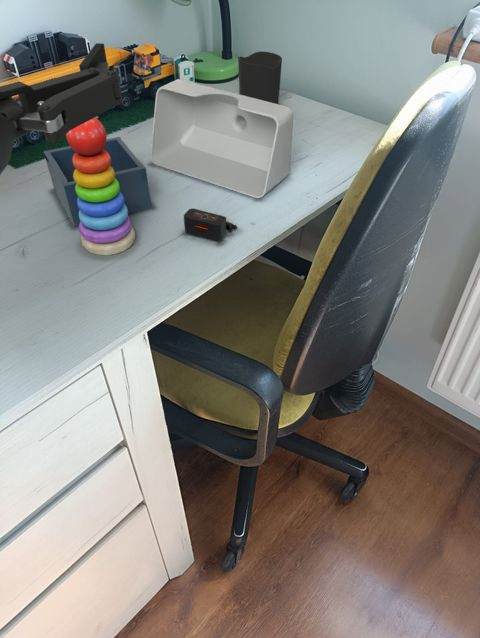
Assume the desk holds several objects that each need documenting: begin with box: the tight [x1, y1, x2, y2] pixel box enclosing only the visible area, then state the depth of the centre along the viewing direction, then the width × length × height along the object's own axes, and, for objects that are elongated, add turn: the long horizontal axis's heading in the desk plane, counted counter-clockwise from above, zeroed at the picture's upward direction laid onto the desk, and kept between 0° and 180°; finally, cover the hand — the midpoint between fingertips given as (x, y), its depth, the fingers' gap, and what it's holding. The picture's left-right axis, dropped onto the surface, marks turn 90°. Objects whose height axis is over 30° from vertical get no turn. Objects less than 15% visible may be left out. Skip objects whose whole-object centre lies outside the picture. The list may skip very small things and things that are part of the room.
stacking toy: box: [65, 117, 136, 256], centre depth 72 cm, size 8×8×19 cm
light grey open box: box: [149, 78, 294, 199], centre depth 93 cm, size 25×16×12 cm, turn 59°
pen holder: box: [237, 50, 283, 104], centre depth 114 cm, size 9×9×10 cm
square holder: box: [43, 136, 152, 227], centre depth 85 cm, size 13×13×7 cm
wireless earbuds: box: [183, 208, 238, 243], centre depth 80 cm, size 5×7×3 cm, turn 67°
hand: (34, 56), depth 51 cm, fingers open, 13 cm apart
